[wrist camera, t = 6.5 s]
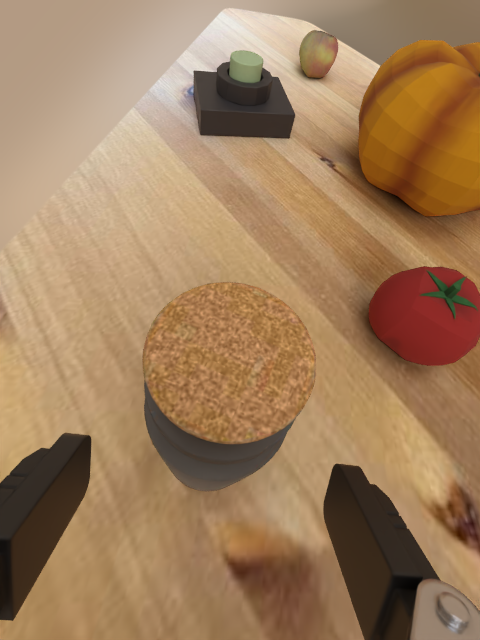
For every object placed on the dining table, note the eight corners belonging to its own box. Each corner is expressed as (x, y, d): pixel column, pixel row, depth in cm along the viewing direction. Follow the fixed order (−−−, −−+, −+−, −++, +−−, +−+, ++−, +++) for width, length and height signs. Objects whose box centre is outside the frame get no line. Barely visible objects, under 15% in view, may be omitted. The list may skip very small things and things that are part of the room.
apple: (311, 89, 50) (324, 43, 45) (286, 66, 54) (296, 20, 48) (340, 86, 52) (356, 41, 47) (314, 64, 55) (326, 20, 50)
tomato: (434, 391, 25) (512, 355, 19) (345, 343, 27) (390, 295, 20) (449, 320, 29) (516, 271, 23) (370, 281, 31) (414, 226, 24)
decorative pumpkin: (474, 154, 46) (582, 20, 33) (511, 263, 35) (696, 123, 22) (342, 121, 46) (399, -25, 33) (336, 219, 35) (419, 53, 22)
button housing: (200, 135, 40) (201, 90, 35) (193, 95, 45) (193, 51, 40) (289, 138, 42) (300, 97, 38) (273, 100, 47) (281, 59, 43)
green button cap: (231, 84, 38) (233, 63, 36) (226, 68, 40) (228, 48, 38) (263, 86, 39) (266, 66, 37) (257, 71, 41) (259, 51, 39)
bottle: (208, 384, 23) (226, 238, 10) (268, 440, 22) (375, 350, 9) (146, 445, 21) (67, 350, 8) (209, 514, 19) (241, 537, 6)
